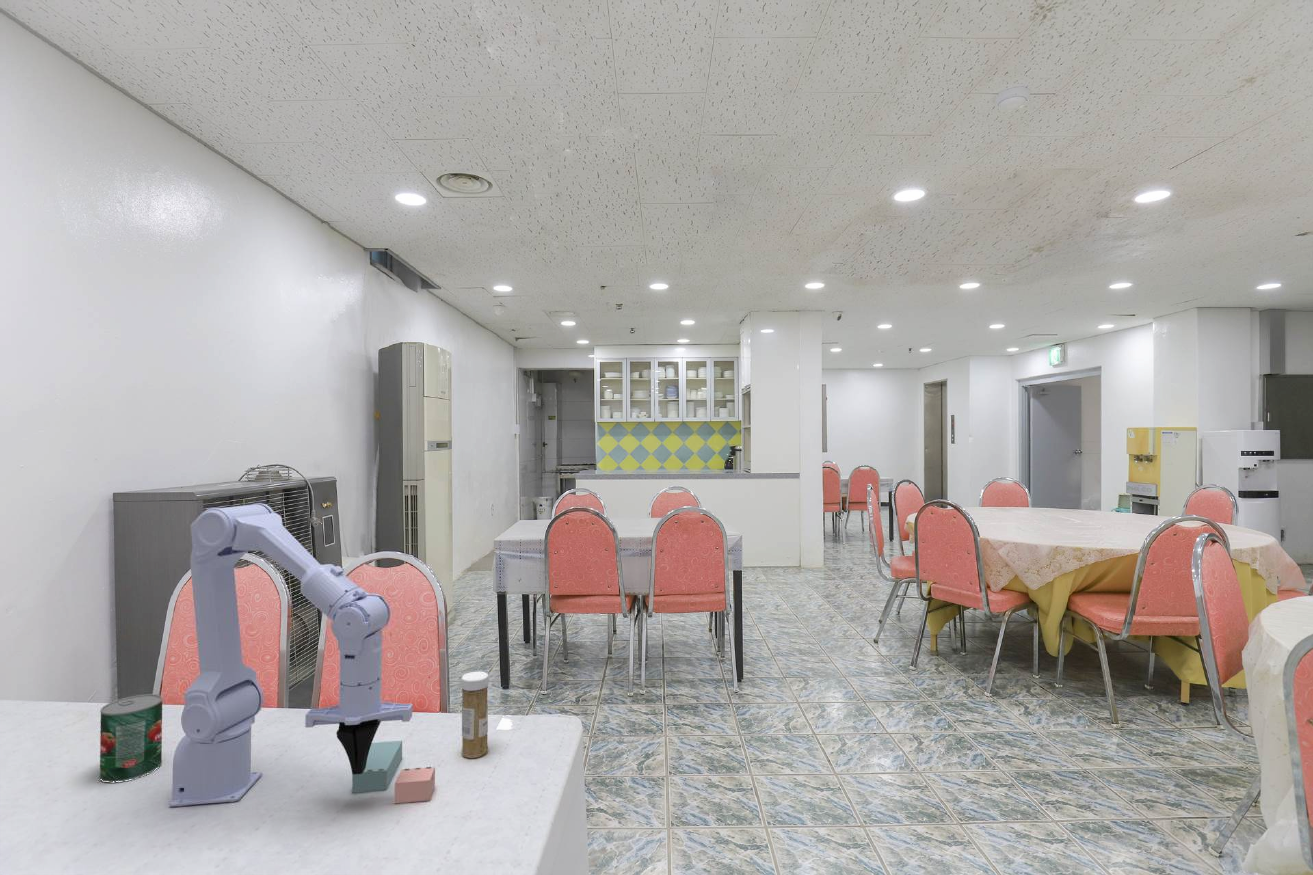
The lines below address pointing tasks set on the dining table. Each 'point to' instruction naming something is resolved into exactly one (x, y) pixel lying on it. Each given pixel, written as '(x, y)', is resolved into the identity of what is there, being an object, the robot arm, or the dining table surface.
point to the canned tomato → (130, 737)
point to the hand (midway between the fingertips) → (359, 770)
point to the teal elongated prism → (378, 767)
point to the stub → (414, 785)
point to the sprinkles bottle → (474, 714)
